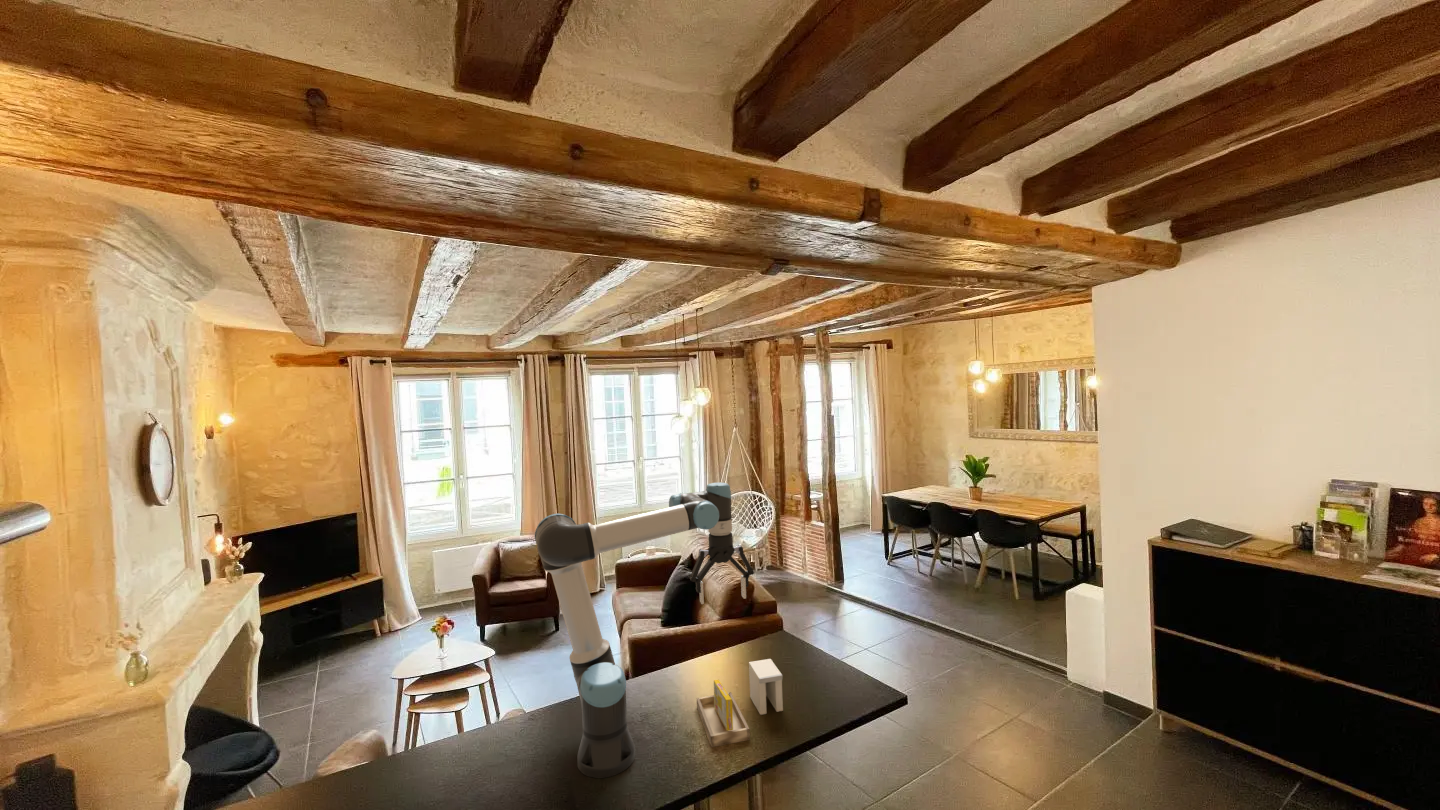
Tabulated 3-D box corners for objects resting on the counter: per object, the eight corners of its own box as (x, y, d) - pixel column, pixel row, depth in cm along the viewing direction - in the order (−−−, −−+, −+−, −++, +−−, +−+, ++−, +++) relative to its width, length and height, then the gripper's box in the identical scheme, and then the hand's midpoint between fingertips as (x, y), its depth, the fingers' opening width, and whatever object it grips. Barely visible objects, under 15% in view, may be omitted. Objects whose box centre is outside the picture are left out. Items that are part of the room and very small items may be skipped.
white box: (761, 716, 166) (759, 679, 166) (750, 697, 177) (748, 662, 177) (783, 712, 168) (782, 675, 168) (771, 693, 179) (770, 658, 178)
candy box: (734, 730, 155) (732, 698, 156) (726, 731, 154) (724, 700, 155) (720, 707, 170) (719, 678, 171) (714, 708, 170) (712, 679, 171)
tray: (711, 747, 153) (711, 736, 153) (696, 707, 172) (696, 698, 172) (749, 739, 155) (749, 729, 155) (731, 701, 175) (730, 692, 175)
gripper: (683, 539, 168) (686, 609, 169) (762, 531, 174) (764, 598, 174) (679, 533, 175) (681, 600, 176) (754, 526, 181) (757, 590, 182)
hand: (723, 600), depth 175 cm, fingers open, 13 cm apart
